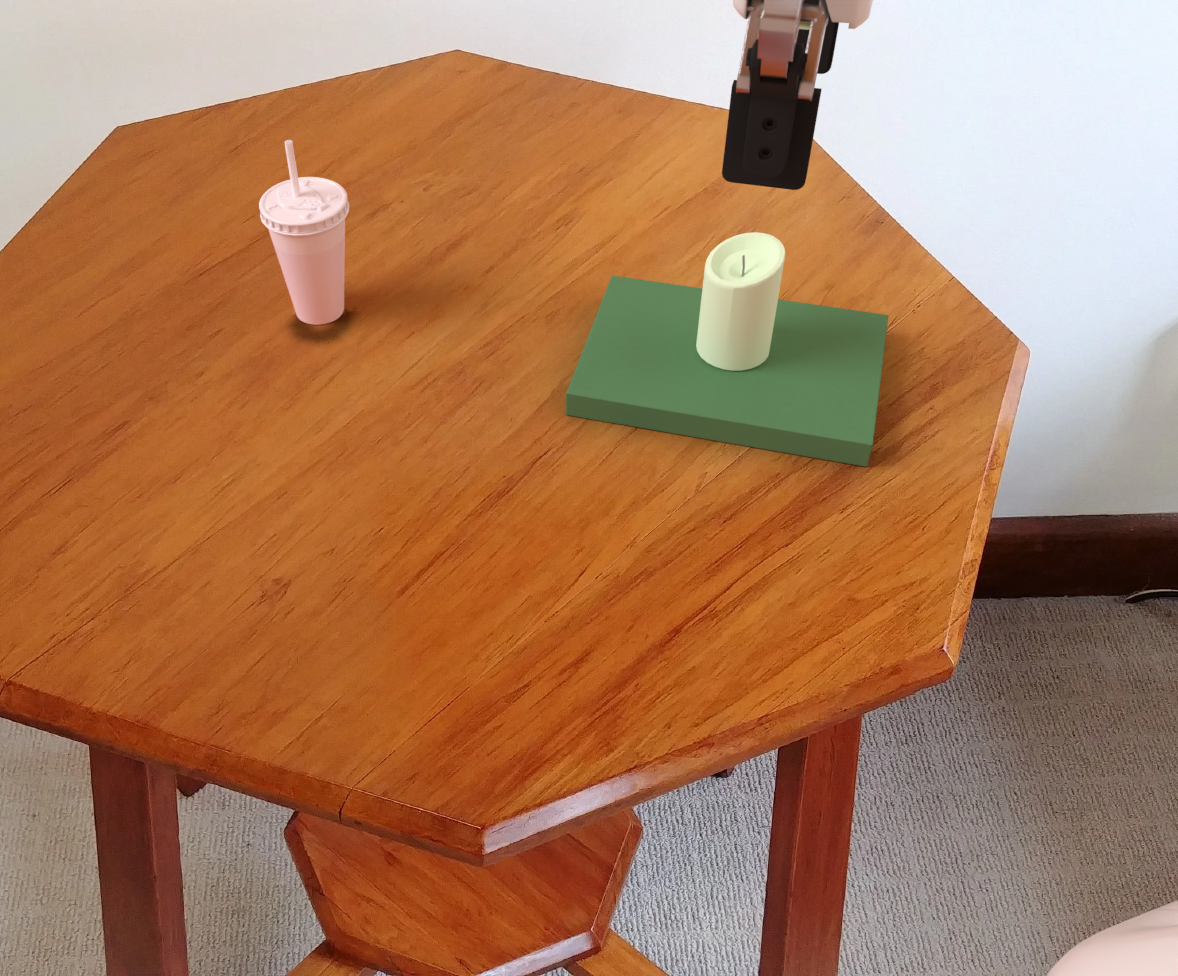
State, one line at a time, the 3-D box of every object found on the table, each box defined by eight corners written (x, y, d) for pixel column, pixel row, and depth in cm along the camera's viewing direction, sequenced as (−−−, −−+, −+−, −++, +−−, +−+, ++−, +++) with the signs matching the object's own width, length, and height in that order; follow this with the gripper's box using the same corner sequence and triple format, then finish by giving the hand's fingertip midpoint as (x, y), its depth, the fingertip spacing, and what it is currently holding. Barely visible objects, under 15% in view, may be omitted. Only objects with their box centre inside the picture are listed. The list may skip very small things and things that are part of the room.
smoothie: (315, 275, 98) (290, 112, 88) (379, 302, 95) (360, 136, 85) (260, 317, 94) (228, 152, 84) (325, 346, 91) (298, 178, 81)
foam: (883, 336, 89) (888, 314, 88) (867, 467, 80) (873, 444, 78) (610, 296, 94) (611, 274, 93) (565, 415, 85) (565, 393, 83)
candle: (718, 380, 84) (731, 279, 78) (683, 338, 87) (692, 238, 81) (783, 360, 85) (801, 260, 79) (745, 319, 88) (759, 220, 82)
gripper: (967, -293, 33) (852, 248, 45) (981, -419, 45) (886, 39, 57) (686, -300, 35) (648, 222, 47) (769, -420, 46) (722, 24, 58)
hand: (779, 121), depth 52 cm, fingers open, 9 cm apart
